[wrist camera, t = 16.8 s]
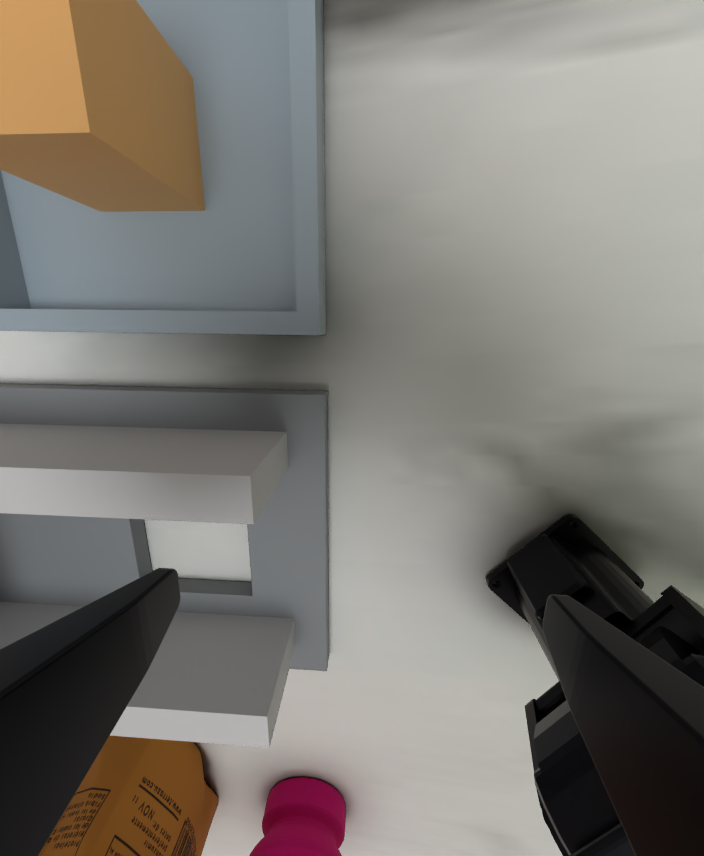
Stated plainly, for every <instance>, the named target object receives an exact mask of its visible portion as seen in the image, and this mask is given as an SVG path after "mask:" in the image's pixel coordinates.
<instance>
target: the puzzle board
mask: <svg viewBox="0 0 704 856" xmlns="http://www.w3.org/2000/svg"><path fill="white" fill-rule="evenodd" d="M144 519H147V520H169V521H192V522H215V523H238V524H247V527H248V540H249V553H250V567H251V580H252V582H238V581H219V580H200V579H181V578H178V580H179V588H180V597H181V598H180V604H179V607H178V609H177V611H176V613H175V615H174V618H173V620H172V622H171V624H170V626H169V628H168V630H167V632H166V634H165V636H164V639H163V641H162V643H161V645H160V647H159V649H158V651H157V653H156V655H155V657H154V659H153V661H152V663H151V665H150V667H149V669H148V671H147V673H146V675H145V676H144V678H143V680H142V682H141V683H140V685H139V687H138V688H137V690H136V692H135V693H134V695H133V697H132V699H131V700H130V702H129V704H128V705H127V707H126V709H125V710H124V712H123V714H122V715H121V717H120V719H119V720H118V722H117V724H116V726H115V727H114V729H113V731H112V732H111V734H110V736H123V737H136V738H149V739H162V740H175V741H187V742H200V743H213V744H226V745H239V746H252V747H265V748H269V747H270V743H271V739H272V735H273V731H274V727H275V723H276V719H277V715H278V711H279V707H280V703H281V699H282V695H283V691H284V687H285V683H286V679H287V675H288V671H289V669H303V670H318V671H327V667H328V659H329V557H328V402H327V391H305V390H261V389H217V388H173V387H129V386H85V385H41V384H0V649H2V648H4V647H6V646H8V645H10V644H12V643H13V642H15V641H17V640H19V639H21V638H23V637H25V636H27V635H29V634H31V633H33V632H35V631H37V630H39V629H41V628H43V627H45V626H47V625H49V624H51V623H53V622H54V621H56V620H58V619H60V618H62V617H64V616H66V615H68V614H70V613H72V612H74V611H76V610H78V609H80V608H82V607H84V606H86V605H88V604H90V603H92V602H94V601H95V600H97V599H99V598H101V597H103V596H105V595H107V594H109V593H111V592H113V591H115V590H117V589H119V588H121V587H123V586H125V585H127V584H129V583H131V582H133V581H135V580H136V579H138V578H140V577H142V576H144V575H146V574H148V573H150V572H152V568H151V561H150V555H149V549H148V543H147V537H146V531H145V525H144Z"/></svg>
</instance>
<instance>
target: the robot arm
mask: <svg viewBox="0 0 704 856" xmlns="http://www.w3.org/2000/svg"><path fill="white" fill-rule="evenodd" d="M571 522H574V524H573V525H571V526H569V524H570V523H571ZM494 581H498V582H497V583H493V582H494ZM486 582H487V584H488V587H489V588H490V589H491V590H492V591H493V592H494V593H495V594H496V595H497V596H499V597H500V598H501V599H502V600H503V601H504V602H505V603H506V604H508V605H509V606H510V607H511V608H512V609H513V610H514V611H515V612H517V613H518V614H519V615H520V616H521V617H522V618H523V619H525V620H526V621H527V622H528V623H529V624H530V626H531V628H532V630H533V632H534V634H535V636H536V637H537V639H538V641H539V643H540V645H541V647H542V649H543V651H544V653H545V655H546V657H547V659H548V661H549V662H550V664H551V666H552V668H553V670H554V672H555V674H556V676H557V678H558V680H559V682H557V683H556V684H555V685H554V686H553V687H551V688H550V689H549V690H548V691H546V692H545V693H544V694H543V695H542V696H540V697H539V698H538V699H537V700H535V699H533V700H531V701H530V702H529V703H528V704H526V705H525V711H526V718H527V725H528V732H529V739H530V746H531V753H532V760H533V767H534V778H535V785H536V788H537V793H538V798H539V802H540V806H541V809H542V813H543V817H544V820H545V822H546V824H547V826H548V827H549V829H550V831H551V834H552V836H553V838H554V840H555V842H556V844H557V845H558V847H559V849H560V851H561V853H562V855H563V856H704V609H703V608H702V607H701V606H699V605H698V604H697V603H695V602H694V601H692V600H691V599H690V598H688V597H687V596H686V595H684V594H683V593H681V592H680V591H679V590H677V589H676V588H675V587H673V586H672V585H671V586H669V587H668V588H667V589H666V590H665V591H663V592H662V593H661V594H662V595H663V596H662V597H661V598H660V599H658V600H657V601H656V602H655V603H654V602H653V601H652V600H651V599H650V598H649V597H648V596H647V595H646V594H645V593H644V592H643V591H642V590H641V589H642V588H643V586H644V582H643V581H642V579H641V578H640V577H639V576H637V575H636V574H635V573H634V572H633V571H632V570H631V569H630V568H629V567H628V566H627V565H626V564H625V563H624V562H623V561H622V560H621V559H620V558H619V557H618V556H617V555H616V554H615V553H614V552H613V551H612V550H611V549H610V548H609V547H608V546H607V545H606V544H605V543H604V542H603V541H602V540H601V539H600V538H599V537H598V536H597V535H596V534H595V533H593V532H592V531H591V530H590V529H589V528H588V527H587V526H586V525H585V524H584V523H583V522H582V521H581V520H580V519H579V518H578V517H577V516H575V515H573V514H568V515H566V516H564V517H562V518H561V519H560V520H559V521H557V522H556V523H555V524H553V525H552V526H551V527H550V528H548V529H547V530H546V531H544V532H543V533H542V534H541V535H539V536H538V537H537V538H535V539H534V540H533V541H532V542H530V543H529V544H528V545H526V546H525V547H524V548H523V549H521V550H520V551H519V552H517V553H516V554H515V555H514V556H512V557H511V558H510V559H508V560H507V561H506V562H505V563H503V564H502V565H501V566H499V567H498V568H497V569H496V570H494V571H493V572H492V573H490V574H489V575H488V576H487V579H486ZM180 598H181V597H180V588H179V580H178V573H177V571H176V570H175V569H169V568H158V569H156V570H154V571H152V572H150V573H148V574H146V575H144V576H142V577H140V578H138V579H136V580H135V581H133V582H131V583H129V584H127V585H125V586H123V587H121V588H119V589H117V590H115V591H113V592H111V593H109V594H107V595H105V596H103V597H101V598H99V599H97V600H95V601H94V602H92V603H90V604H88V605H86V606H84V607H82V608H80V609H78V610H76V611H74V612H72V613H70V614H68V615H66V616H64V617H62V618H60V619H58V620H56V621H54V622H53V623H51V624H49V625H47V626H45V627H43V628H41V629H39V630H37V631H35V632H33V633H31V634H29V635H27V636H25V637H23V638H21V639H19V640H17V641H15V642H13V643H12V644H10V645H8V646H6V647H4V648H2V649H0V856H39V854H40V852H41V850H42V849H43V847H44V845H45V844H46V842H47V840H48V839H49V837H50V835H51V834H52V832H53V830H54V829H55V827H56V825H57V823H58V822H59V820H60V818H61V817H62V815H63V813H64V812H65V810H66V808H67V807H68V805H69V803H70V802H71V800H72V798H73V796H74V795H75V793H76V791H77V790H78V788H79V786H80V785H81V783H82V781H83V780H84V778H85V776H86V775H87V773H88V771H89V769H90V768H91V766H92V764H93V763H94V761H95V759H96V758H97V756H98V754H99V753H100V751H101V749H102V747H103V746H104V744H105V742H106V741H107V739H108V737H109V736H110V734H111V732H112V731H113V729H114V727H115V726H116V724H117V722H118V720H119V719H120V717H121V715H122V714H123V712H124V710H125V709H126V707H127V705H128V704H129V702H130V700H131V699H132V697H133V695H134V693H135V692H136V690H137V688H138V687H139V685H140V683H141V682H142V680H143V678H144V676H145V675H146V673H147V671H148V669H149V667H150V665H151V663H152V661H153V659H154V657H155V655H156V653H157V651H158V649H159V647H160V645H161V643H162V641H163V639H164V636H165V634H166V632H167V630H168V628H169V626H170V624H171V622H172V620H173V618H174V615H175V613H176V611H177V609H178V607H179V604H180Z"/></svg>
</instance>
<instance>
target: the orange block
mask: <svg viewBox="0 0 704 856" xmlns="http://www.w3.org/2000/svg"><path fill="white" fill-rule="evenodd" d="M0 170H2V171H5V172H7V173H9V174H12V175H14V176H17V177H19V178H21V179H24V180H26V181H29V182H31V183H33V184H36V185H38V186H41V187H43V188H45V189H48V190H50V191H53V192H55V193H57V194H60V195H62V196H65V197H67V198H69V199H72V200H74V201H77V202H79V203H81V204H84V205H86V206H89V207H91V208H93V209H96V210H98V211H100V212H132V211H205V204H204V193H203V182H202V171H201V161H200V150H199V139H198V128H197V117H196V106H195V96H194V85H193V77H192V76H191V75H190V73H189V72H188V70H187V69H186V68H185V66H184V65H183V64H182V62H181V61H180V60H179V58H178V57H177V55H176V54H175V53H174V51H173V50H172V49H171V47H170V46H169V44H168V43H167V42H166V40H165V39H164V38H163V36H162V35H161V34H160V32H159V31H158V29H157V28H156V27H155V25H154V24H153V23H152V21H151V20H150V19H149V17H148V16H147V14H146V13H145V12H144V10H143V9H142V8H141V6H140V5H139V4H138V2H137V1H136V0H0Z"/></svg>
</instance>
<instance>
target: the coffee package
mask: <svg viewBox="0 0 704 856" xmlns="http://www.w3.org/2000/svg"><path fill="white" fill-rule="evenodd" d="M217 806H218V797H217V796H216V795H215V794H214V792H213V791H212V790H211V789H210V788H209V787H208V786H207V784H206V783H205V781H204V775H203V765H202V756H201V753H200V751H199V749H198V747H197V746H196V745H195V744H194V743H193V742H187V741H175V740H162V739H149V738H136V737H123V736H109V737H108V739H107V741H106V742H105V744H104V746H103V747H102V749H101V751H100V753H99V754H98V756H97V758H96V759H95V761H94V763H93V764H92V766H91V768H90V769H89V771H88V773H87V775H86V776H85V778H84V780H83V781H82V783H81V785H80V786H79V788H78V790H77V791H76V793H75V795H74V796H73V798H72V800H71V802H70V803H69V805H68V807H67V808H66V810H65V812H64V813H63V815H62V817H61V818H60V820H59V822H58V823H57V825H56V827H55V829H54V830H53V832H52V834H51V835H50V837H49V839H48V840H47V842H46V844H45V845H44V847H43V849H42V850H41V852H40V854H39V856H201V854H202V851H203V848H204V845H205V841H206V838H207V835H208V832H209V829H210V826H211V823H212V820H213V817H214V814H215V811H216V808H217Z"/></svg>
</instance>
